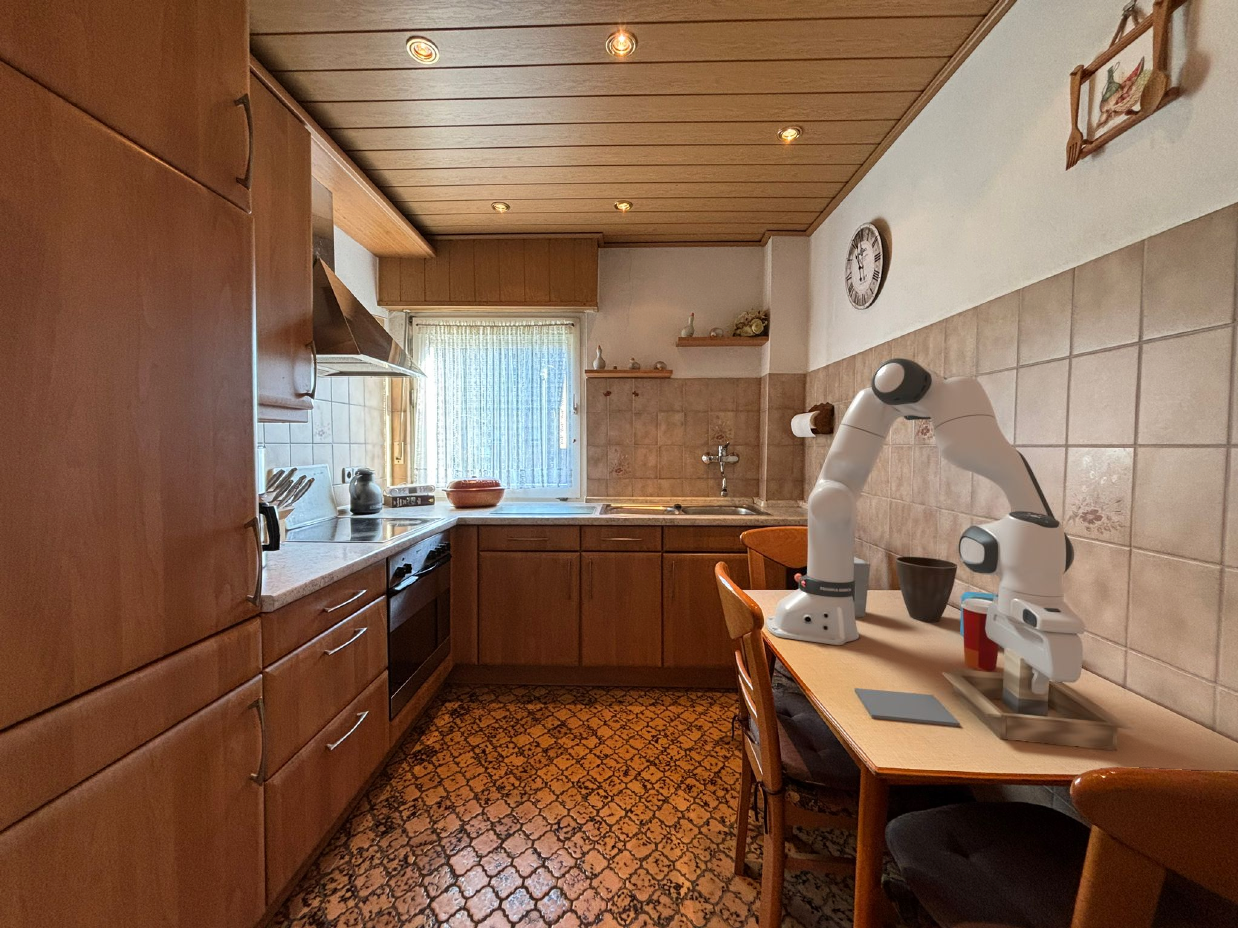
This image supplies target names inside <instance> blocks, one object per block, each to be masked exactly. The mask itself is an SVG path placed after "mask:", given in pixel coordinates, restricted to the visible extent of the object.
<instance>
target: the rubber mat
mask: <svg viewBox="0 0 1238 928" xmlns="http://www.w3.org/2000/svg"><path fill="white" fill-rule="evenodd" d="M854 692H855V694H856V696H857V697H858V699H859V701H860V702H861V703H862V705H863V706H864V708H865V710H866V711H867V713H868V715H869V716H870V717H871V718H872V719H878V720H879V719H880V720H887V721H889V720H890V721H899V722H909V723H919V724H929V725H939V726H940V725H941V726H948V727H950V726H951V727H959V726H961V723H960V722H959V721H958V720H957V718H955V715H953V714H952V713H951V712H950V711H949V710H948V709H947V708H946V707H945V705H943V704H942V702H940V701H939V699H937V698H936V696H935V695H933V694H925V693H915V692H904V691H891V690H883V689H882V690H881V689H880V690H879V689H872V688H871V689H870V688H869V689H868V688H859V687H856V688H855V687H854Z"/></svg>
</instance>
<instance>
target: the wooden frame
mask: <svg viewBox="0 0 1238 928" xmlns="http://www.w3.org/2000/svg"><path fill="white" fill-rule="evenodd" d="M941 672H942V673H941V674H942V676H944V677H945V678H946V680H948V682H950V683H951V684H952V694H953V696H955V697H956V698H957V699H958V700H959V701H960V703H962V702H963V703H962V704H963V705H964V704H965V705H966V706H965V705H964V706H965V707H966V708H967V707H968V708H969V709H970V710H971V711H972V712H973V713H972V712H971V713H972V714H973V715H974V716H975V717H977V718H978V719H979V720H980V721H981V722H982V723H983V724H984V725H985V726H986V727H987V726H988V727H987V728H988V729H989V730H990V731H991V732H992V733H993V734H994V735H995V736H996V737H997V736H998V737H997V738H999V740H1005V739H1008V741H1015V740H1022V741H1021V742H1025V741H1029V743H1035V742H1041V743H1040V744H1045V743H1051V744H1050V745H1055V744H1056V745H1058V746H1065V745H1066V746H1067V747H1075V746H1079V747H1078V748H1086V749H1087V748H1088V749H1097V750H1104V751H1105V750H1106V751H1107V750H1108V751H1116V752H1117V751H1118V748H1117V747H1118V730H1119V729H1121V730H1122V729H1123V730H1133V726H1132V725H1130V724H1128V723H1127V722H1126V721H1123V720H1122V719H1121V718H1119V717H1118V716H1116V715H1115V714H1113V713H1111V712H1110V711H1108V710H1107V709H1105V708H1103V707H1102V706H1100V705H1099V704H1098V703H1095V702H1094V701H1092V700H1091V699H1089V698H1088V697H1087V696H1085V695H1083V694H1082V693H1080V692H1078V691H1077V690H1075V689H1074V688H1073V687H1071V686H1069V685H1068V684H1066V683H1065V682H1058V681H1053V680H1049V691H1048V706H1050V708H1052V709H1054V710H1055V711H1057V712H1058V713H1059V714H1060V715H1062V716H1063V717H1053V716H1047V717H1044V716H1033V715H1022V714H1015V713H1009V712H1004V711H1002V710H1001V709H1000V708H999V707H997V705H995V704H994V703H993V702H991V701H990V699H993V700H1002V698H1003V678H1004V672H994V671H992V672H987V671H980V670H969V669H959V668H958V669H957V668H956V669H955V668H953V669H952V672H944V671H941ZM968 708H967V709H968ZM969 709H968V710H969ZM970 710H969V711H970ZM1024 740H1025V741H1024Z"/></svg>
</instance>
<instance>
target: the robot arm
mask: <svg viewBox="0 0 1238 928" xmlns="http://www.w3.org/2000/svg"><path fill="white" fill-rule="evenodd" d="M870 384H871V385H870V386H871V387H867V388H863V389H861V390H860V391H858V392H857V394H856V395H855V397H854V398H853V400H852V401H851V403H850V404H849V407H848V408H847V410H846V412H845V413H844V416H843V418H842V420H841V422H840V424H839V426H838V429H837V431H836V434H835V436H834V438H833V440H832V444H831V446H830V447H829V448H830V449H829V451H828V454H827V455H826V458H825V461H824V463H823V466H822V468H821V471H820V472H819V475H818V478H817V479H816V483H815V485H814V487H813V489H812V491H811V492H810V494H809V496H808V498H807V499H808V500H807V565H806V567H807V569H806V574H805V575H802V574H801V573H796V574H795V575H794V580H795V581H796V582H797V583H798V589H796V590H794V591H793V592H791V593H790V594H788V595H786V596H785V597H783V598H781V599H780V600H778V603H777V605H776V608H775V611H774V612H775V613H774V615H770V616H768V617H767V618H766V621H765V626H766V628H767V630H768V632H769V633H770V634H772V635H774V636H776V637H778V638H783V639H792V640H799V641H806V642H813V643H819V644H829V645H835V646H842V645H844V644H845V643H847V642H852V641H855V640H857V639H858V638H859V637H860V634H859V631H858V627H857V621H856V617H855V613H854V601H855V595H856V585H855V580H854V557H855V547H856V546H855V545H856V528H857V527H856V526H857V525H856V524H857V503H858V501H859V498H860V496H861V494H862V492H863V490H864V488H865V486H866V483H867V482H868V479H869V477H870V475H871V473H872V471H873V469H874V467H875V465H876V463H877V461H878V459H879V456H880V454H881V452H882V450H883V447H884V444H885V442H886V440H887V438H888V435H889V432H890V431H891V428H892V426H893V425H894V423H895V421H897V420H898V419H900V418H902V417H903V418H904V419H905V420H906V421H915V420H917V421H918V420H921V421H922V420H924V421H925V420H926V421H927V420H928V421H929V420H931V425H932V428H933V434H934V438H935V443H936V447H937V449H938V451H939V453H940V455H941V456H942V458H943V459H944V460H946V461H947V462H948V463H949V464H951V465H953V466H954V467H957V468H959V469H961V470H964V471H967V472H971V473H973V474H977V475H979V476H981V477H984V478H985V479H987V480H989V481H991V482H992V483H994V484H996V485H997V486H998V487H999V488H1000V489H1001V490H1002V492H1003V493H1004V495H1005V498H1006V499H1007V501H1008V503H1009V506H1010V508H1011V511H1010V512H1009V513H1006V515H1005V516H1004V517H1003V518H1001V519H999V520H996V521H992V522H988V523H983V524H977V525H970V526H968V528H967V529H965V530H964V531H963V532H962V534H961V536H960V538H959V541H958V554H959V555H958V556H959V558H960V560H961V561H962V563H963V565H964V566H966V568H968V569H969V570H970V571H972V572H973V573H977V574H981V575H985V576H997V577H998V578H999V583H998V590H997V591H998V592H997V593H996V594H997V595H996V596H994V598H993V602H992V603H991V604H990V605H989V608H988V612H987V619H986V627H985V631H986V634H987V637H988V638H989V639H991V640H992V641H994V642H995V643H997V644H998V645H1000V646H1001V647H1003V648H1002V649H1003V655H1004V656H1005V648H1008V649H1010V650H1012V651H1013V652H1015V653H1016V654H1018V655H1019V656H1021V657H1022V658H1023V659H1024V662H1025V663H1027V664H1028V665H1030V666H1031V667H1032V672H1033V673H1034V676H1033V678H1032V680H1029V679H1028V684H1029V685H1028V688H1029V689H1030V690H1031V691H1032V692H1034V693H1035V694H1044V693H1045V686H1046V684H1047V683H1048V681H1056V682H1063V683H1072V684H1073V683H1074V684H1075V683H1076V682H1077V681H1079V680H1080V678H1081V675H1082V667H1083V656H1084V655H1083V654H1084V653H1083V651H1084V650H1083V649H1084V647H1083V641H1082V639H1081V637H1080V636H1079V635H1083V634H1085V632H1086V623H1085V622H1084V620H1083V619H1082V618H1081V617H1080V616H1079V615H1078V614H1077V613H1075V612H1074V611H1073V610H1072V608H1071V607H1070V606H1069V605H1068V603H1066V602H1065V599H1064V598H1065V592H1064V591H1065V590H1064V587H1063V584H1062V582H1063V581H1062V580H1063V575H1064V574H1065V573H1066V572H1067V571H1068V570H1070V568H1071V566H1072V565H1073V561H1074V558H1075V550H1074V549H1075V548H1074V546H1073V543H1072V541H1071V540H1070V538H1069V537H1068V535H1067V533H1066V532H1065V531H1064V528H1063V525H1062V523H1061V522H1060V521H1059V520H1058V519H1056V518H1055V516H1054V513H1053V511H1052V509H1051V507H1050V505H1049V502H1048V501H1047V499H1046V496H1045V494H1044V493H1043V490H1042V489H1041V486H1040V484H1039V481H1038V480H1037V477H1036V474H1034V472H1033V469H1032V467H1031V466H1030V464H1029V463H1028V460H1027V459H1026V458H1025V456H1024V455H1023V454H1022V453H1021V451H1018V450H1017V449H1015V448H1014V447H1013V445H1011V443H1010V442H1009V441H1008V439H1007V438H1006V437H1005V435H1004V433H1003V432H1002V431H1001V428H1000V426H999V423H998V421H997V417H996V414H995V411H994V407H993V405H992V403H991V401H990V398H989V396H988V394H987V392H986V390H985V389H984V386H983V385H982V383H981V382H980V381H979V380H977V379H976V378H974V377H971V376H966V375H965V376H962V375H961V376H959V375H958V376H953V377H949V378H946V377H944V376H942V375H941V373H939V372H937V371H935V370H934V369H932V368H930V367H928V366H924V365H922V364H919V363H917V362H916V361H915V360H912V359H909V358H908V359H907V358H901V357H898V358H897V357H896V358H892V359H891V358H890V359H888V360H886V361H884V362H883V363H881V364H880V365H879V366H878V367H877V368H876V370H875V371H874V373H873V375H872V377H871V382H870Z"/></svg>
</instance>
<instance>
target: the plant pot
mask: <svg viewBox="0 0 1238 928" xmlns="http://www.w3.org/2000/svg"><path fill="white" fill-rule="evenodd" d="M895 565H896V573H897V577H898V583H899V586H900V587H899V588H900V591H901V595H902V598H903V601H904V604H905V607H906V611H907V613H908V616H909V617H911V618H912V619H914V620H917V621H920V622H928V623H929V622H930V623H931V622H932V623H934V622H939V621H940V620H941V619H942V617H943V615H944V612H945V610H946V608H947V606H948V603H949V601H950V597H951V594H952V591H953V589H954V584H955V580H956V576H957V571H958V564H957V563H954V562H951V561H949V560H944V559H940V558H933V557H931V558H930V557H925V556H924V557H923V556H922V557H921V556H899V557H896V558H895Z"/></svg>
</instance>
